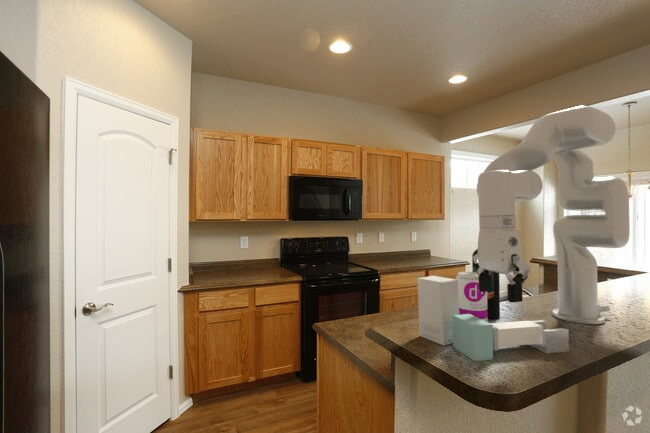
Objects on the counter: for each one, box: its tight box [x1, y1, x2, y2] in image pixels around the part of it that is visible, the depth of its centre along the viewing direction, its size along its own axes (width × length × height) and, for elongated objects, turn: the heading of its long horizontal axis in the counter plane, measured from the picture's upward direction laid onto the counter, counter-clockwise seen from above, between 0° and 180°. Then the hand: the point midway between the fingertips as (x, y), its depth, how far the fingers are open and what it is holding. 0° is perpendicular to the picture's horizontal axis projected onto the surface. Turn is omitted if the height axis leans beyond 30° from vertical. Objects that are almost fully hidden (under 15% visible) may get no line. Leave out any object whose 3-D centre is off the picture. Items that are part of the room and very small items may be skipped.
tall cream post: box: [489, 320, 543, 352], centre depth 74 cm, size 17×5×5 cm, turn 100°
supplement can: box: [455, 271, 488, 322], centre depth 91 cm, size 8×8×15 cm
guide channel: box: [528, 319, 570, 354], centre depth 76 cm, size 6×7×5 cm
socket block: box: [452, 314, 494, 362], centre depth 73 cm, size 4×8×8 cm, turn 10°
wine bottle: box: [471, 248, 501, 321], centre depth 99 cm, size 8×8×30 cm
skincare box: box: [416, 275, 459, 346], centre depth 81 cm, size 8×7×16 cm
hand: (499, 296), depth 74 cm, fingers open, 9 cm apart
